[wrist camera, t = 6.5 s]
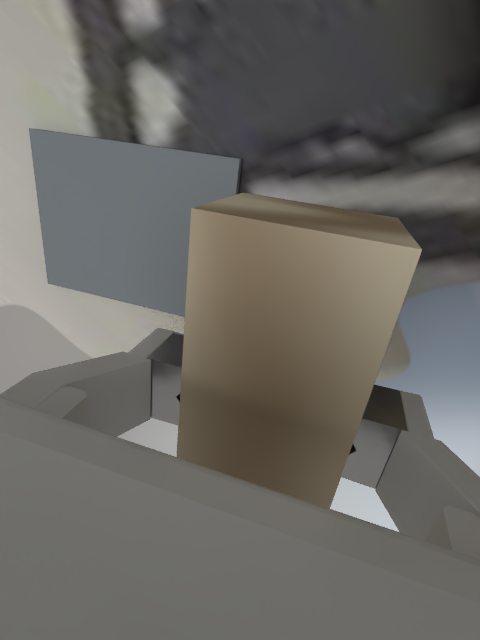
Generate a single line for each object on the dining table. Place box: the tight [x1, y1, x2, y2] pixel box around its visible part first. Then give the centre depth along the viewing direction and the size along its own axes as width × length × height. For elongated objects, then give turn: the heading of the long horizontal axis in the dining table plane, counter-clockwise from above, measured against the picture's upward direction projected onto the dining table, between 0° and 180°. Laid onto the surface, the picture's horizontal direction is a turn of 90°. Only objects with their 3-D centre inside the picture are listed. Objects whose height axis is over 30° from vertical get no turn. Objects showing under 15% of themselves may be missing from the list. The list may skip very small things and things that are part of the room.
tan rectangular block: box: [177, 193, 422, 509], centre depth 10 cm, size 4×9×4 cm, turn 172°
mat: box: [29, 128, 242, 317], centre depth 27 cm, size 16×12×1 cm
